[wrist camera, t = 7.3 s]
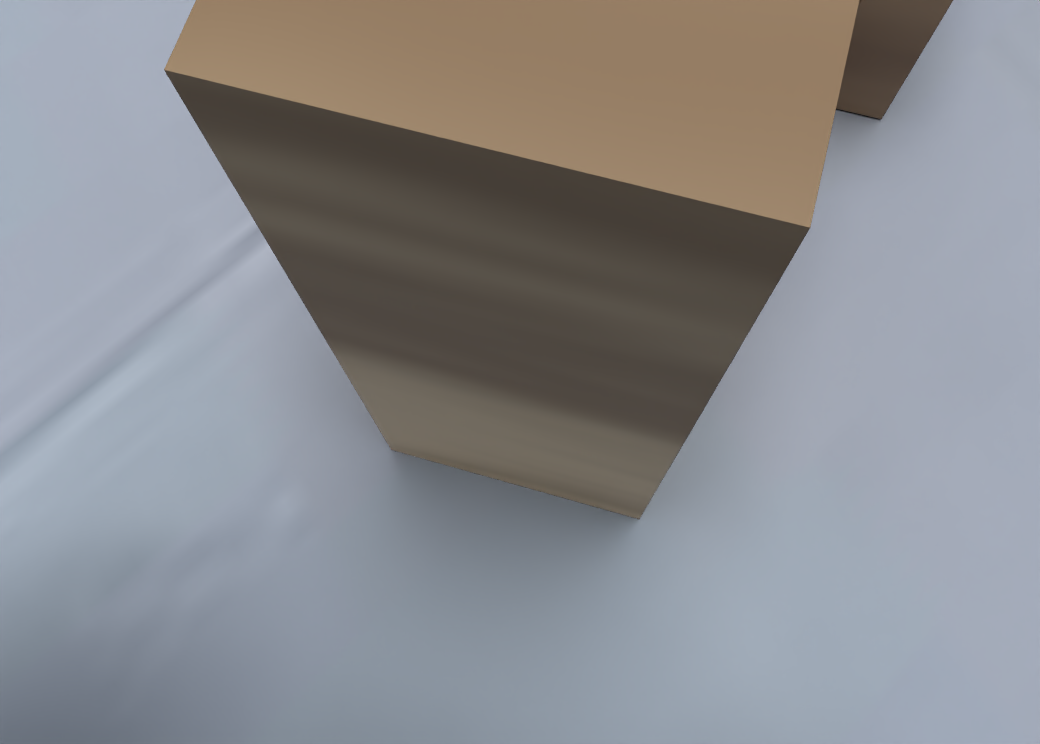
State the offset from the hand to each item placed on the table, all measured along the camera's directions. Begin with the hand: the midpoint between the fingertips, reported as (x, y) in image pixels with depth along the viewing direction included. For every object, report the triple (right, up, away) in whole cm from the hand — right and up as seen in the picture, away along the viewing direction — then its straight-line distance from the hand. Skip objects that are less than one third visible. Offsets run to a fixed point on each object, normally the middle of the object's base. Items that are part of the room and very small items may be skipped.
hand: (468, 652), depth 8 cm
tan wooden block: (+2, +6, +9) cm, 11 cm away
